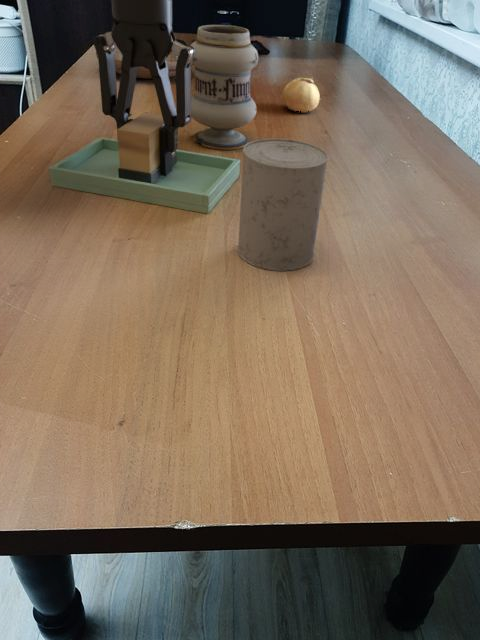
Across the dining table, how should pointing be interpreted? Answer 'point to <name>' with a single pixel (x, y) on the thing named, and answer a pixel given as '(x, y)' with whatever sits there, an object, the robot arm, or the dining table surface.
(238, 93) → the apothecary jar
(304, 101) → the onion
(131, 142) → the eraser
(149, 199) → the tray
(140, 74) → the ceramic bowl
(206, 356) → the dining table surface
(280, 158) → the grey cylinder
